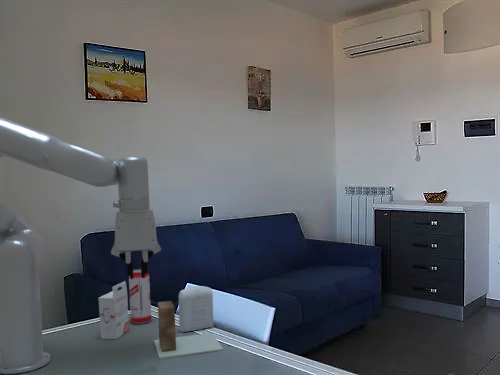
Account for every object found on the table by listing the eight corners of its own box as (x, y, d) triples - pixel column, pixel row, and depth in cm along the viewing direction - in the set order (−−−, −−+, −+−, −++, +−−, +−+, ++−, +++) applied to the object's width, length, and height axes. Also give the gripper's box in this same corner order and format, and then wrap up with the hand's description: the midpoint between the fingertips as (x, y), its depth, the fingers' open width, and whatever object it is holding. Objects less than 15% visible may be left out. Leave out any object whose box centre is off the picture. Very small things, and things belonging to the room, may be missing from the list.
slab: (162, 352, 125) (160, 308, 124) (159, 343, 131) (157, 302, 131) (176, 350, 126) (174, 307, 125) (172, 341, 132) (171, 300, 132)
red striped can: (145, 318, 158) (143, 268, 158) (155, 321, 154) (152, 270, 153) (127, 322, 154) (125, 271, 154) (136, 326, 150) (134, 273, 149)
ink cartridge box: (113, 329, 147) (111, 280, 147) (129, 330, 146) (127, 280, 146) (99, 339, 139) (97, 286, 138) (116, 339, 138) (113, 286, 137)
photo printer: (210, 324, 149) (208, 283, 149) (215, 327, 145) (214, 285, 145) (177, 329, 144) (175, 287, 144) (182, 333, 141) (180, 290, 140)
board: (159, 359, 121) (159, 357, 121) (153, 341, 134) (153, 340, 134) (223, 350, 125) (223, 348, 125) (211, 334, 139) (211, 332, 139)
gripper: (101, 207, 120) (104, 283, 120) (167, 204, 125) (170, 277, 125) (101, 206, 127) (104, 278, 128) (164, 203, 132) (167, 272, 132)
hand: (137, 277), depth 126 cm, fingers closed
